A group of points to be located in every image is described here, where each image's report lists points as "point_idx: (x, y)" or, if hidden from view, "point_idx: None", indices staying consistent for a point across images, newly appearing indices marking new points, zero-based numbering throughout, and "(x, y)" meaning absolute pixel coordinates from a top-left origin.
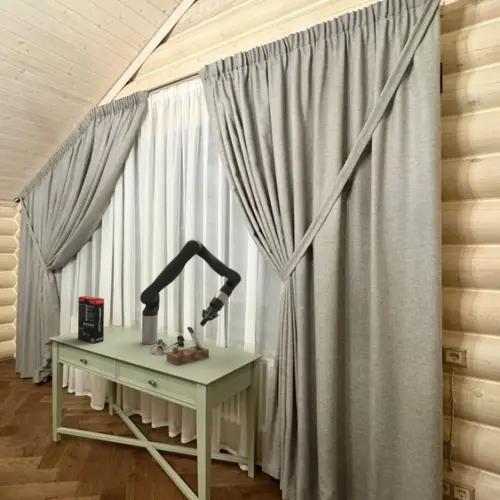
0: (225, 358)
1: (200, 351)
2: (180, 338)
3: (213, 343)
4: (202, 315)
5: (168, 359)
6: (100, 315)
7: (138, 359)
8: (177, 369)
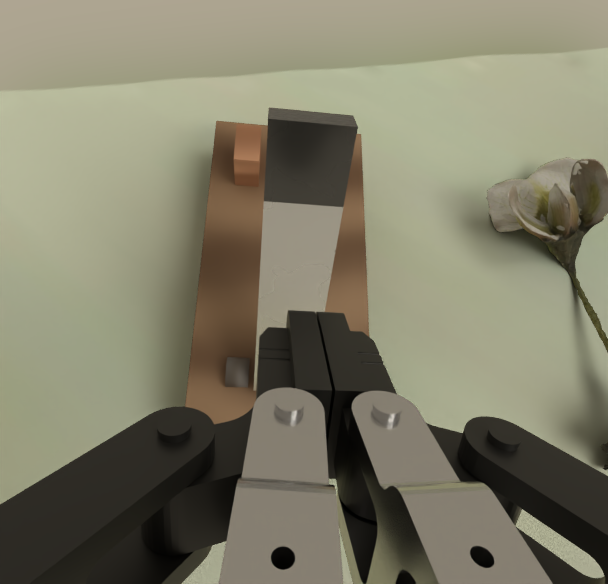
0: None
1: (198, 326)
2: None
3: None
4: (538, 453)
5: None
6: None
7: (469, 86)
8: (159, 121)
